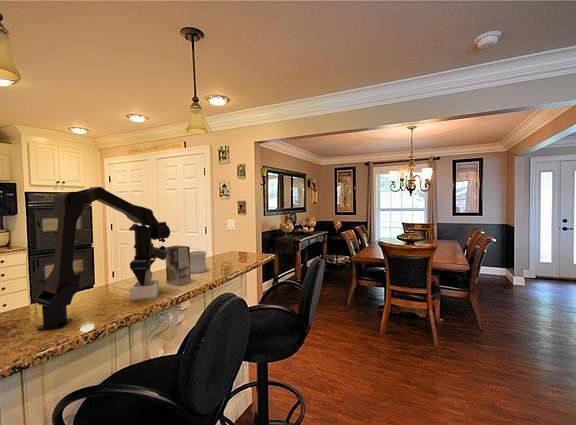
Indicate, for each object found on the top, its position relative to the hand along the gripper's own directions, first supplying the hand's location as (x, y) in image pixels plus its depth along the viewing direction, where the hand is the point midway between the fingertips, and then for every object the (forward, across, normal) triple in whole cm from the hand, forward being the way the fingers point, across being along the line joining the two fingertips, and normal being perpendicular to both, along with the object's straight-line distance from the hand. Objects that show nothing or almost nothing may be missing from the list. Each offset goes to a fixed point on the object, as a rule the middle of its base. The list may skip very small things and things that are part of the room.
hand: (144, 282), depth 115 cm
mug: (+6, +34, -17) cm, 39 cm away
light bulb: (+5, 0, 0) cm, 5 cm away
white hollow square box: (+6, 0, 0) cm, 6 cm away
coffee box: (+6, +16, -11) cm, 20 cm away
